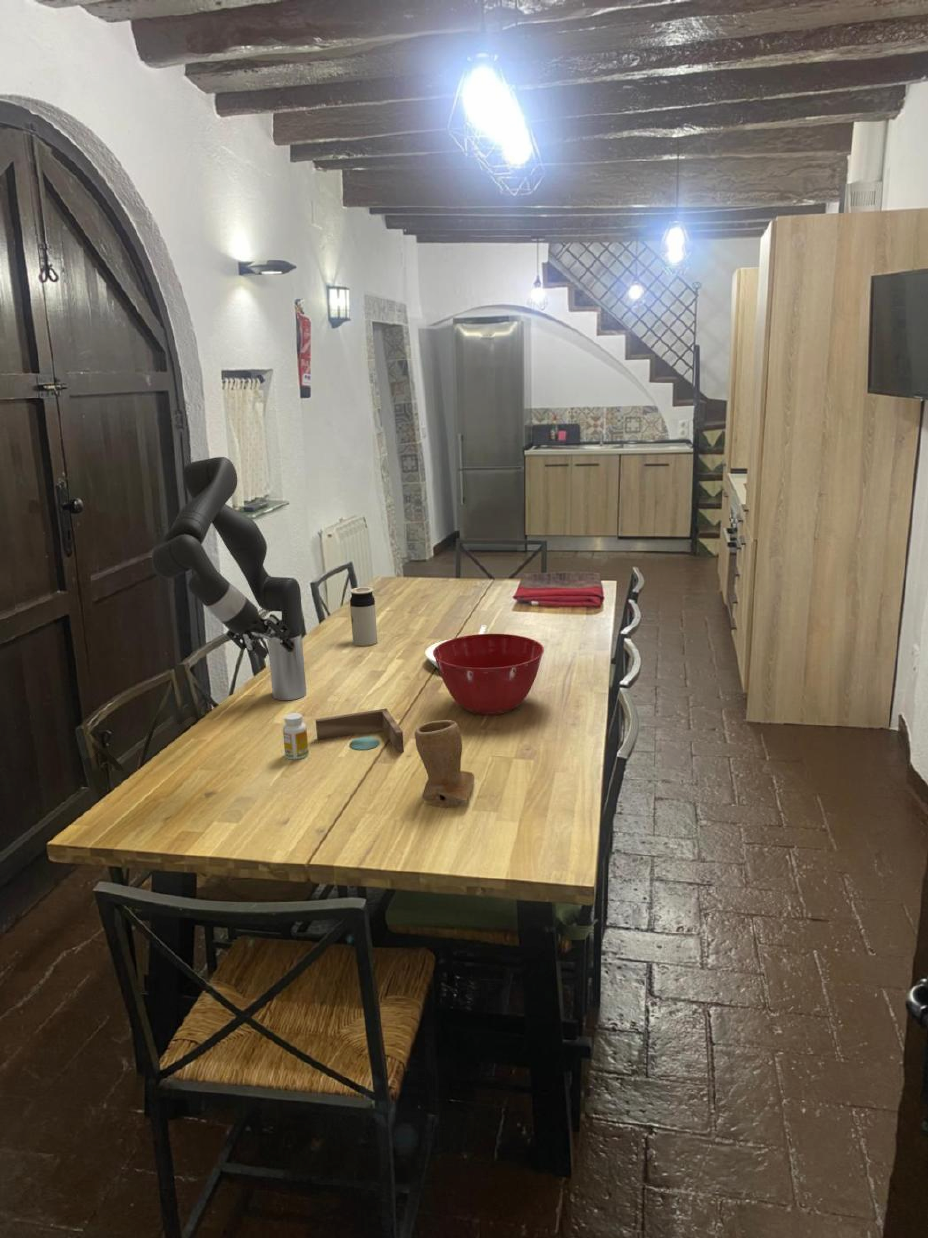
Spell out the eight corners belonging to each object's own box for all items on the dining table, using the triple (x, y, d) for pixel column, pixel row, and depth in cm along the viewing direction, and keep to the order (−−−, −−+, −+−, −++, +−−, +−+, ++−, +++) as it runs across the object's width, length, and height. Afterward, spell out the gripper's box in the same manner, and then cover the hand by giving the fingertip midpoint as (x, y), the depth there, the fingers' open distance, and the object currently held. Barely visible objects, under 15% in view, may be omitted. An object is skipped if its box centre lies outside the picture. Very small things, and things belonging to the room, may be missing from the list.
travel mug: (379, 639, 296) (376, 586, 291) (374, 646, 289) (371, 592, 284) (355, 639, 297) (352, 586, 292) (350, 646, 289) (346, 592, 285)
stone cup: (424, 776, 194) (421, 711, 190) (479, 778, 192) (476, 713, 188) (408, 809, 180) (404, 739, 176) (466, 812, 178) (463, 742, 174)
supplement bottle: (310, 750, 210) (306, 711, 208) (307, 759, 205) (303, 719, 202) (287, 751, 210) (283, 712, 207) (283, 760, 205) (279, 721, 202)
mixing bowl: (537, 728, 218) (536, 668, 214) (424, 723, 223) (420, 664, 219) (550, 688, 244) (549, 634, 240) (448, 685, 250) (446, 632, 246)
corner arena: (317, 738, 217) (315, 719, 215) (387, 727, 222) (386, 708, 220) (328, 764, 202) (327, 743, 201) (403, 751, 207) (402, 731, 206)
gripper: (260, 587, 192) (307, 634, 201) (215, 600, 199) (262, 645, 209) (247, 613, 187) (296, 660, 197) (202, 626, 195) (250, 670, 204)
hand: (279, 652), depth 203 cm, fingers open, 8 cm apart
